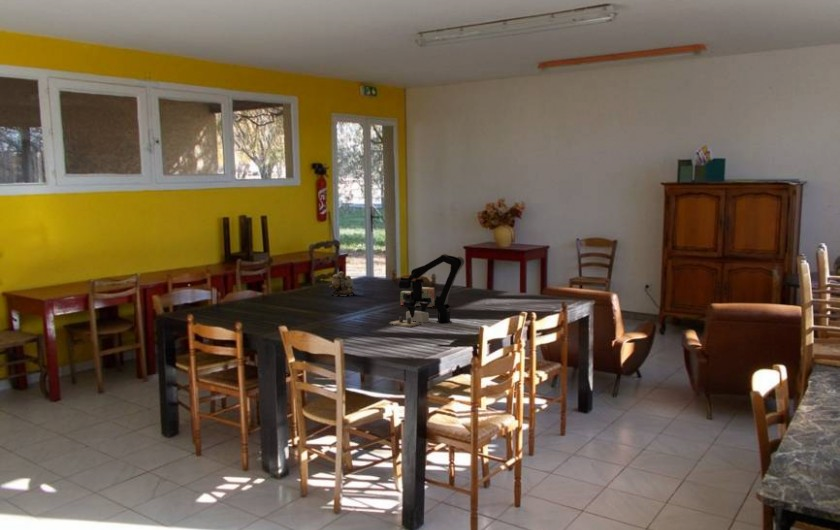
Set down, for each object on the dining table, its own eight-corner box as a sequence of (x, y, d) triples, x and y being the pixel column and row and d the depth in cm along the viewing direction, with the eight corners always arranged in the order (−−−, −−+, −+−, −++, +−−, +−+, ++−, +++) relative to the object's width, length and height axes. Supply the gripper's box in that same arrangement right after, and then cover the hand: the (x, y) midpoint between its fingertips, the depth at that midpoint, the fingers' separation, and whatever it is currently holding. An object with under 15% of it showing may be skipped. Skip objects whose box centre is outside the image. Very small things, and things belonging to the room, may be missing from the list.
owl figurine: (330, 297, 493) (329, 273, 491) (328, 294, 505) (327, 271, 503) (356, 296, 498) (355, 271, 496) (353, 293, 509) (352, 269, 507)
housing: (428, 321, 410) (428, 312, 409) (422, 322, 405) (421, 314, 405) (412, 318, 418) (412, 310, 417) (406, 320, 413) (406, 311, 412)
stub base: (420, 324, 401) (420, 317, 400) (409, 327, 393) (409, 320, 393) (400, 321, 410) (400, 314, 410) (389, 324, 403) (389, 317, 402)
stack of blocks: (400, 306, 458) (399, 287, 456) (402, 304, 464) (402, 286, 462) (432, 307, 452) (432, 288, 451) (434, 306, 458) (434, 287, 457)
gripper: (417, 286, 422) (417, 312, 423) (396, 290, 407) (396, 317, 409) (431, 288, 414) (431, 314, 416) (410, 292, 400) (411, 319, 402)
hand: (417, 316), depth 411 cm, fingers open, 9 cm apart
